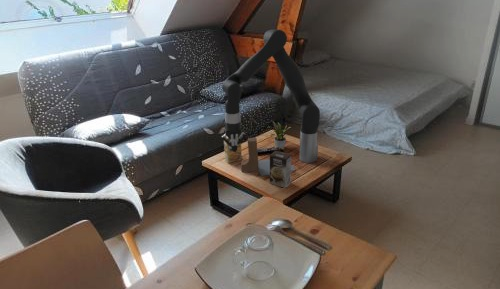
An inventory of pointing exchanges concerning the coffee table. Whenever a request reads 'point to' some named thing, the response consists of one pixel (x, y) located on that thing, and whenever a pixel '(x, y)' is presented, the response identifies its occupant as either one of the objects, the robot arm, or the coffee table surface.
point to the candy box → (231, 155)
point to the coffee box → (280, 168)
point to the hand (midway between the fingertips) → (234, 151)
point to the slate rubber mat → (267, 167)
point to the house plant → (279, 136)
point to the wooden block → (251, 157)
